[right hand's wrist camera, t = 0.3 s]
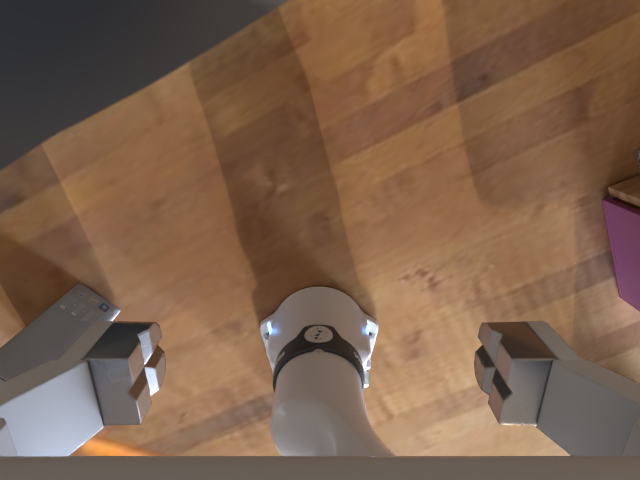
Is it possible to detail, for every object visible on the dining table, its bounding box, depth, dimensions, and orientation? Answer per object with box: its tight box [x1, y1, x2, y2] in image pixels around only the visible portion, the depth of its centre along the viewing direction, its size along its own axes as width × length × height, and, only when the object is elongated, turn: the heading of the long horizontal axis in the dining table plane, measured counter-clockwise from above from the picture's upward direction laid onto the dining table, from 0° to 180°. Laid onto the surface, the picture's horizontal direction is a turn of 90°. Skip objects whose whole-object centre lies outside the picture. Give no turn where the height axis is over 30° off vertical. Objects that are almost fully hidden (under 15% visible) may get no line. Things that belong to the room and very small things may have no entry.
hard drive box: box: [0, 283, 120, 384], centre depth 57 cm, size 16×8×20 cm, turn 138°
